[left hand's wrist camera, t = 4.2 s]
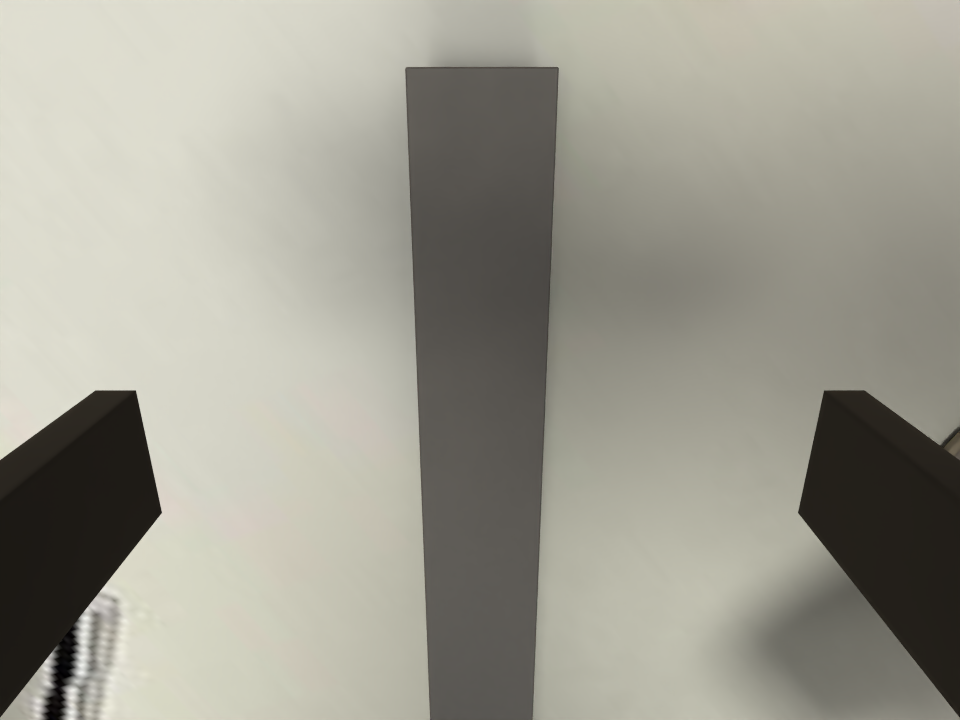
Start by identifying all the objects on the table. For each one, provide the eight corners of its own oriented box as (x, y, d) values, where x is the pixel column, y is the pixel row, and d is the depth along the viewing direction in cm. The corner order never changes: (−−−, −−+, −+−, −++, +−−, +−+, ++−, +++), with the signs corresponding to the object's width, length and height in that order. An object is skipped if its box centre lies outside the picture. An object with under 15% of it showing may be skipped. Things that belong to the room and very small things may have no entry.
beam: (424, 78, 28) (404, 67, 21) (538, 78, 28) (559, 67, 21) (447, 877, 48) (441, 1014, 41) (514, 877, 48) (520, 1014, 41)
